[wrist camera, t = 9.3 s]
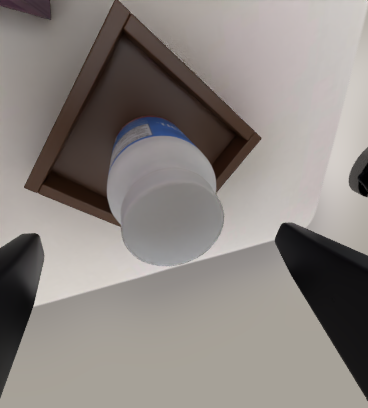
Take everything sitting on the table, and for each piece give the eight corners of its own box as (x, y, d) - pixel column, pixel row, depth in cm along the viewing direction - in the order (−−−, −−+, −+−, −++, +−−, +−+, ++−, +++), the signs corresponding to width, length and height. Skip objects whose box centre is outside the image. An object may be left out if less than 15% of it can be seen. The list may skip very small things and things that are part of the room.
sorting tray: (245, 130, 18) (262, 138, 16) (165, 230, 21) (170, 247, 19) (117, 9, 12) (115, -3, 10) (36, 172, 16) (23, 188, 13)
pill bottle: (198, 155, 17) (263, 229, 9) (147, 196, 18) (167, 296, 10) (153, 95, 14) (193, 127, 6) (95, 147, 15) (65, 234, 7)
